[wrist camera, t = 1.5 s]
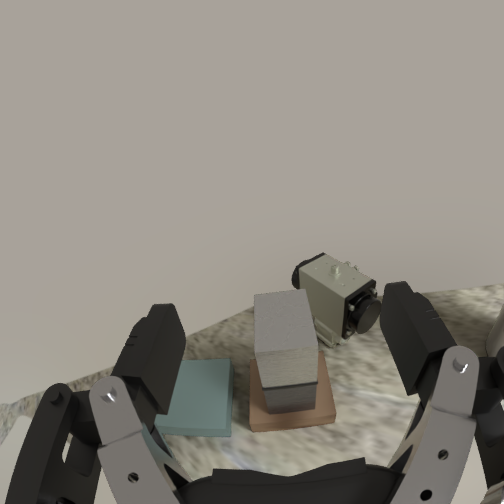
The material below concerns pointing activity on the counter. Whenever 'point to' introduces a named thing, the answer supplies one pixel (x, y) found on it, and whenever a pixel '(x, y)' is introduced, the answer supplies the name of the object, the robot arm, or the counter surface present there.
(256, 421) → the stand
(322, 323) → the pneumatic valve
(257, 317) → the block
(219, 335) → the counter surface
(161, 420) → the stand
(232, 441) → the counter surface
